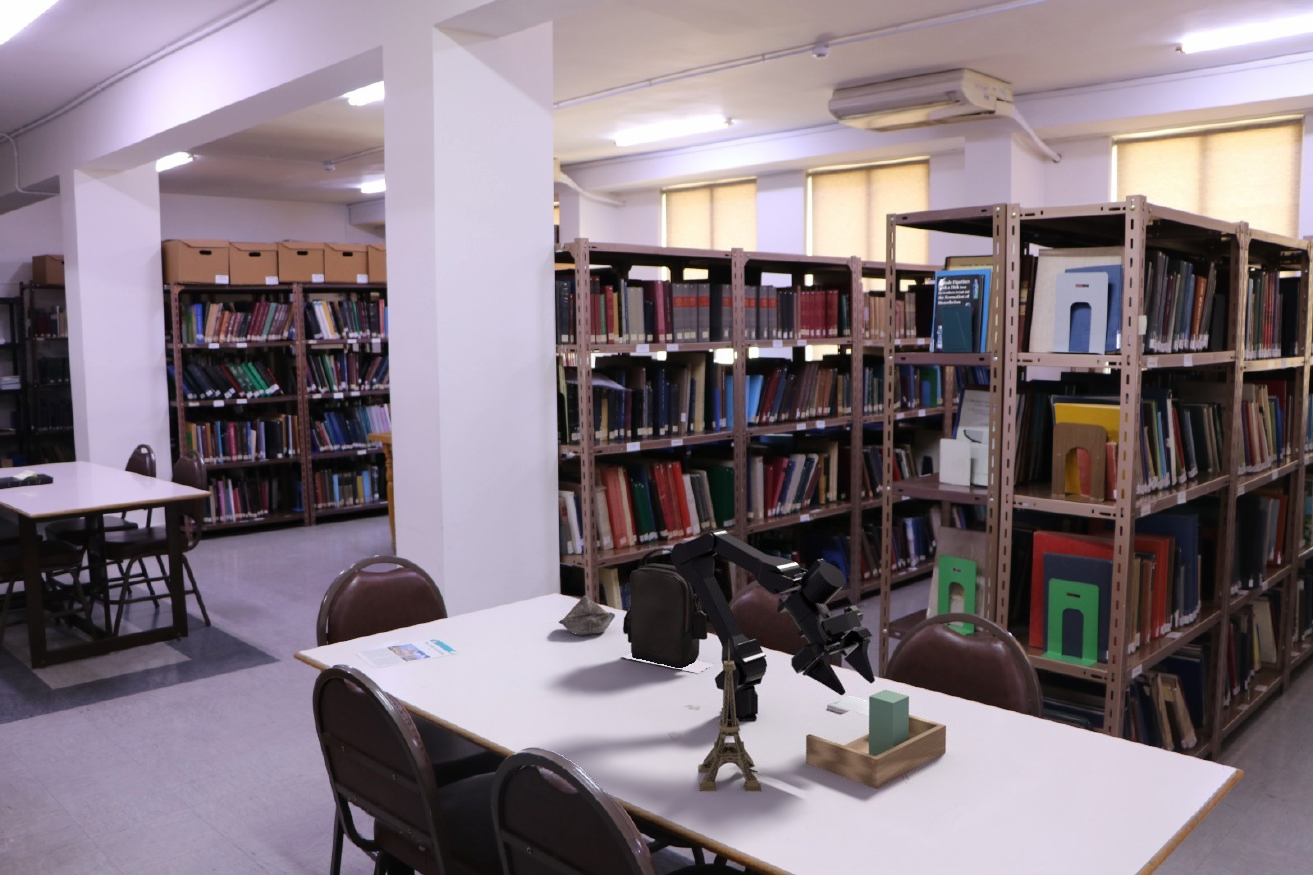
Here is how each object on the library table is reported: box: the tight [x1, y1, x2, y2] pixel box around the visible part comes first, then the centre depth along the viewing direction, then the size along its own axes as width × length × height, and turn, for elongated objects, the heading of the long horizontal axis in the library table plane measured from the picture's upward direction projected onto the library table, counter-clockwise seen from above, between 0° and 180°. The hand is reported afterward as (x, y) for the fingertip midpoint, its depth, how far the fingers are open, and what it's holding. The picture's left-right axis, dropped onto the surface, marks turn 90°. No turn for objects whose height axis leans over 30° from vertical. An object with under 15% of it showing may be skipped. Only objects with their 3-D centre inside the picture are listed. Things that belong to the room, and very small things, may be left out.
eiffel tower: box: [698, 651, 763, 792], centre depth 174 cm, size 11×11×25 cm
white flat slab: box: [826, 695, 869, 718], centre depth 207 cm, size 2×8×12 cm
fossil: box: [558, 595, 616, 635], centre depth 269 cm, size 15×14×10 cm
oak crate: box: [805, 714, 947, 789], centre depth 181 cm, size 15×22×6 cm
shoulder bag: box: [622, 546, 708, 668], centre depth 242 cm, size 23×9×28 cm, turn 57°
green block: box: [868, 689, 910, 756], centre depth 179 cm, size 5×5×12 cm
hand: (858, 688), depth 183 cm, fingers open, 9 cm apart
